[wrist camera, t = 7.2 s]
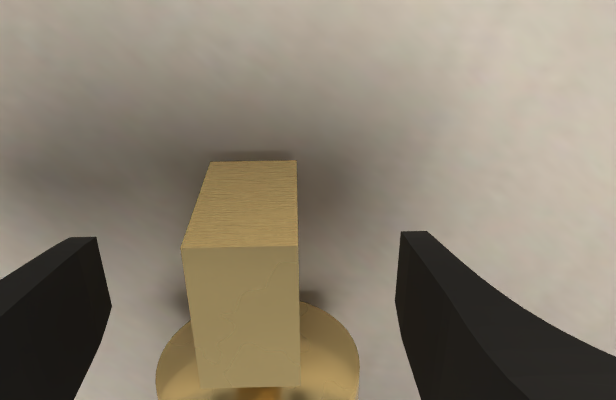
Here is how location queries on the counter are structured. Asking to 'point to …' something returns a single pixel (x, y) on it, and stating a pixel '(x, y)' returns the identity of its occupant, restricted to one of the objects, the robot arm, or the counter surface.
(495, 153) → the counter surface
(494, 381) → the robot arm
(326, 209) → the counter surface
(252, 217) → the brass fitting
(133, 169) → the counter surface
